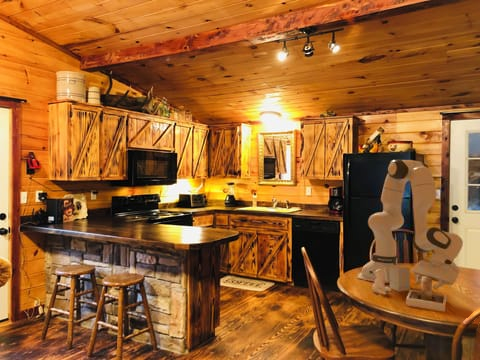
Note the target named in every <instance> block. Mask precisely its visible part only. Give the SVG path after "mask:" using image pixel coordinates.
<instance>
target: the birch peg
mask: <svg viewBox="0 0 480 360" xmlns="http://www.w3.org/2000/svg"><path fill="white" fill-rule="evenodd" d="M420 281H421V283H420V285H421V288H420V289H421V290H420V291H421V300H428V301H432V293H433V280H432V278H431V277H428V276H422V278H421V279H420Z"/></svg>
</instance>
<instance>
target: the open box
mask: <svg viewBox="0 0 480 360" xmlns="http://www.w3.org/2000/svg"><path fill="white" fill-rule="evenodd" d="M413 292H416V293H421V290H415V289H410V291H408V293H407V296H406V298H405V303H406V304H405V305H406V306H408V307H416V308H419V309H427V310H432V311H438V312H445V311H446V304H447V294H443V293H439V292H436V293H435V292H432V295H437V296H443V303H437V302H431V301H424V300H418V299H411V295H412V293H413Z"/></svg>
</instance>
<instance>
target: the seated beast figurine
mask: <svg viewBox="0 0 480 360" xmlns="http://www.w3.org/2000/svg"><path fill="white" fill-rule="evenodd" d="M374 273H375V275H376V277H377V278H376V279H375V282H373V284H372V285H371V290H372V291H373V292H374V293H375V294H378V295H380V294H381V295H387V292H392V289H391V288H390V287H388V286H386V285H385V284H386V283H384V280H383V279H384V274H383V272H382V269H379V270H376V271H374Z"/></svg>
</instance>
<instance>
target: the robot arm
mask: <svg viewBox="0 0 480 360" xmlns="http://www.w3.org/2000/svg"><path fill="white" fill-rule="evenodd" d="M408 182H410V185H411V186H410V188H411V194H412V218H413V219H412V220H413V230H414V231H413V236H412V245H413V247H414V248H415V249H416V250H417V251H418V252H420V253H429V252H431V251H433V252H434V253H433V255H432V256H431V257H430V259H425V258H423V259H420V260H419V261H418V262H417V263H416V264H415V266H413V268H412V273H413V275H414V276H415V277H416V279H415V284H416V285H421V280H422V276H428V277H431V278H432V282H437V284H435V283H434V284H433V285H432V289H433V290H434V291H439V290H438V289H440V288H441V287H443V286H444V285H448V286H453V285H454V284H455V283H456V281H457V279H458V275H459V274H460V272H461V270H460V269H459V266H457V264H456V263H455V262H454V261H455V259H456V258H457V257H458V256H459V254H460V252H461V250H462V248H463V244H464V243H463V242H464V241H463V239H462V238H461V236H460V235H458V234H456V233H455V232H446V231H445V230H442V229H441V228H439V227H435V226H434V227H430V228H428V220H427V216H428V212H429V210H430V208H431V206H432V205H433V204H434V203H435V201H436V199H437V187H436V182H435V180H434V176H433V173H432V171H431V169H430V167H429V166H428V164H427V163H425V162H423V161H417V160H413V159H393V160H391V161H390V162H389V163H388V166H387V174H386V177H385V180H384V183H383V188H382V192H381V196H380V201H381V203H382V209H383V210H382V212H381V211H380V212H375V213H373V214H371V215H370V216H369V218H368V220H367V225H368V227H369V228H370V229H371V230H372V233H373V237H374V239H375V241H374V242H375V252H374V253H372V255H371V261H368V262H367V263H366V264H365V265H363V267H362V268H361V272H360V273H358V274H357V276H356V277H357V279H358V280H359V279H360V280H364V281H369V282H373V283H375V279H376V278H377V277H376V275H375V273H374V271H376V270H379V269H382V272H383V274H384V279H383V280H384V284H390V266H392V265H398V256H397V241H396V239H394V236H393V233H392V231H395V230H398V229H400V228H401V227H402V226H403V225H404V223H405V219H404V216H403V214H402V202H403V197H404V193H405V189H406V188H405V187H406V185H407V183H408Z"/></svg>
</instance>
